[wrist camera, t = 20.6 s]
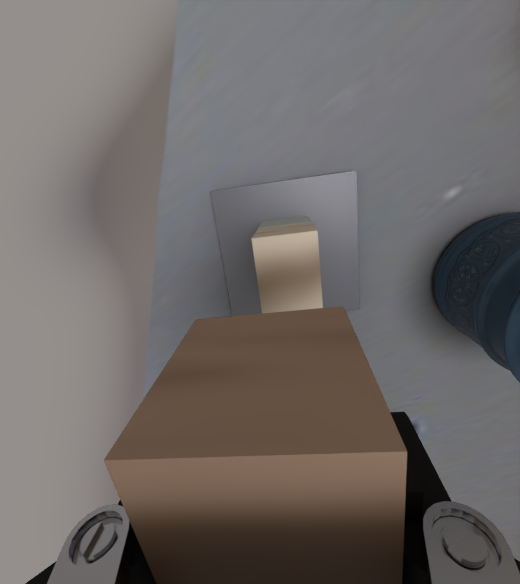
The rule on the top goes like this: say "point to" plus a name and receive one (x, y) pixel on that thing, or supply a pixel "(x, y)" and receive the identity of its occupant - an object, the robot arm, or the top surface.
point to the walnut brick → (265, 458)
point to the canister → (484, 287)
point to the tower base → (284, 204)
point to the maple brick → (288, 267)
